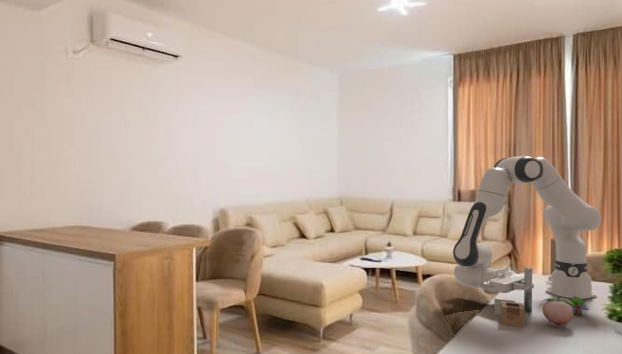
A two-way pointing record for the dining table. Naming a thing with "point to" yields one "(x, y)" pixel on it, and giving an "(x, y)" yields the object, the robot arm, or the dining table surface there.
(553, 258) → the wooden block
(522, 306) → the brown cube-like block
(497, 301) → the block
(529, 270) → the pin gauge
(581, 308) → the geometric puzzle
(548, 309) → the decorative fruit
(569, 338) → the dining table surface
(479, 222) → the robot arm
